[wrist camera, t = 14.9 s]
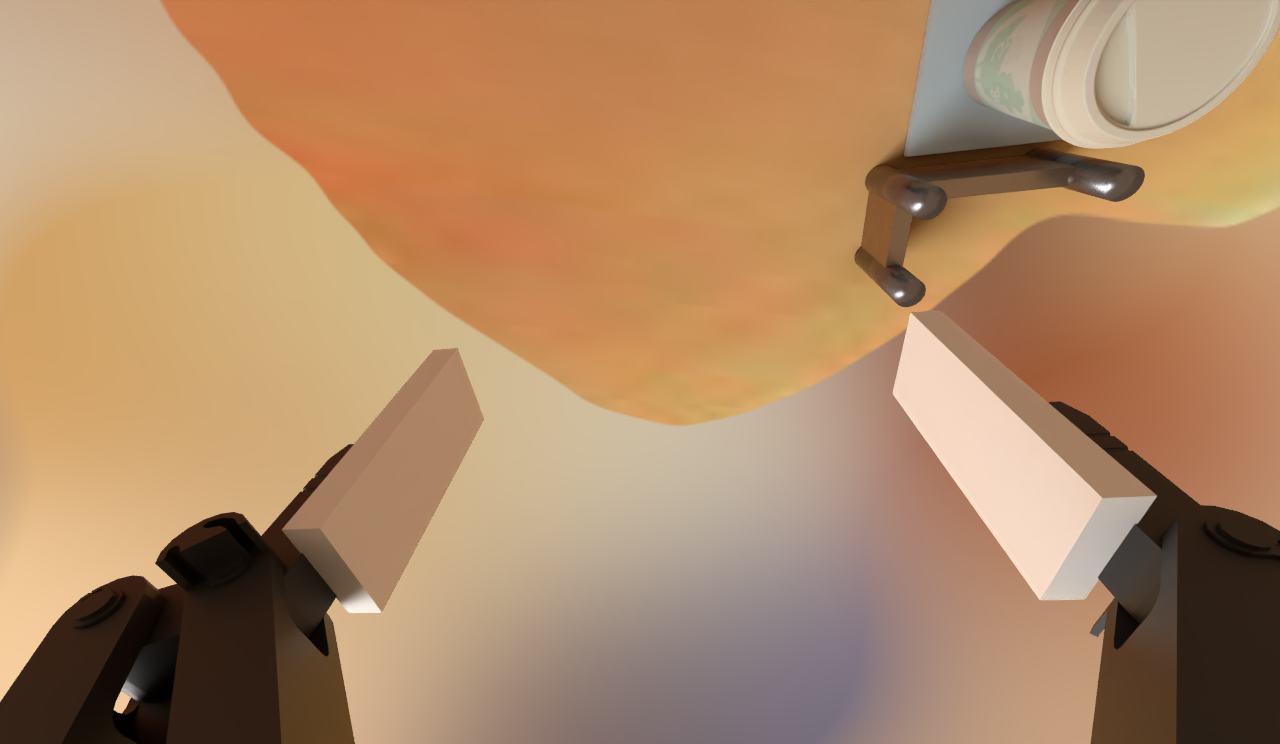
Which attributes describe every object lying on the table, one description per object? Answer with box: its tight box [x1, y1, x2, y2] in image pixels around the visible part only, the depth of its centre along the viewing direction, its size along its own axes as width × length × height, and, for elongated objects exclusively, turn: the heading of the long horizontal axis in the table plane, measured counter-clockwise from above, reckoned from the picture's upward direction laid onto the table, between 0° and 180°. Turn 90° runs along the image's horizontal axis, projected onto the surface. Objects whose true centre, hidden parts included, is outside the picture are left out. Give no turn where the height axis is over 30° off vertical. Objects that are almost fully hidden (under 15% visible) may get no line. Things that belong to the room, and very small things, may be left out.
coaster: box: [904, 0, 1063, 157], centre depth 31 cm, size 11×11×1 cm
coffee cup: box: [963, 0, 1280, 149], centre depth 25 cm, size 9×8×12 cm
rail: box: [855, 148, 1145, 307], centre depth 33 cm, size 8×13×8 cm, turn 96°
